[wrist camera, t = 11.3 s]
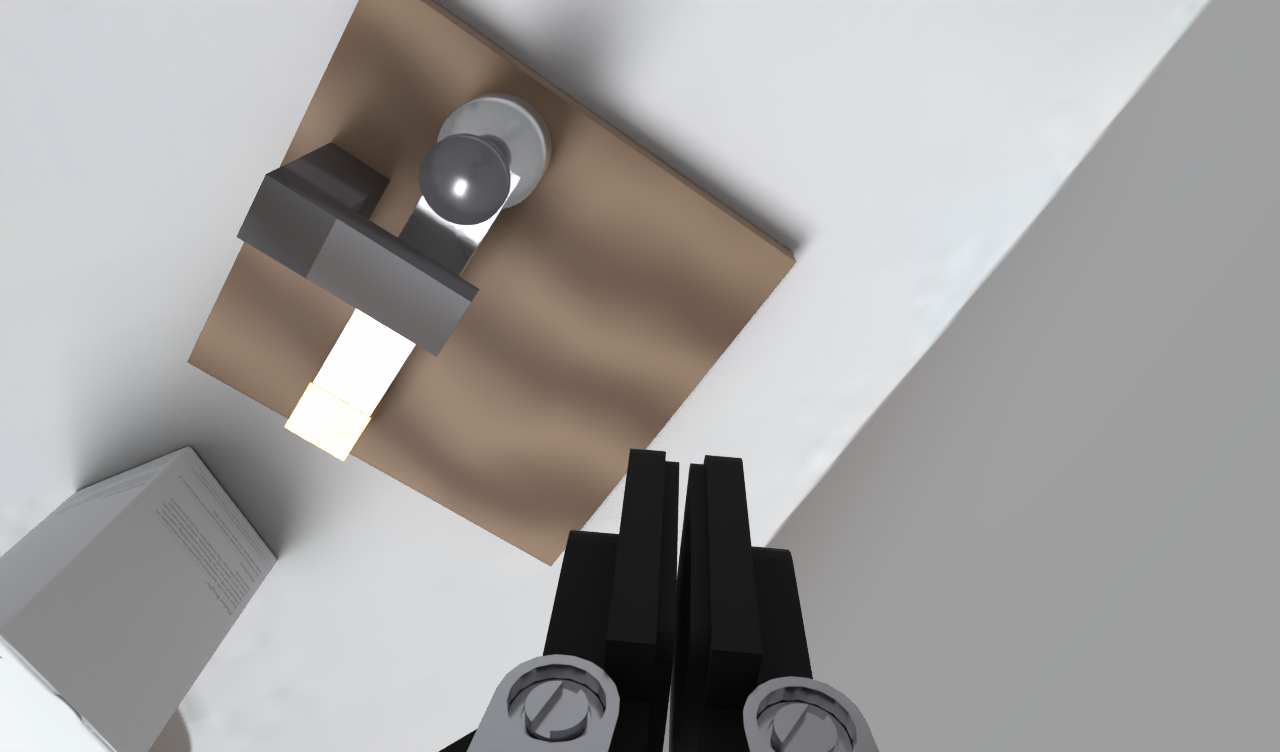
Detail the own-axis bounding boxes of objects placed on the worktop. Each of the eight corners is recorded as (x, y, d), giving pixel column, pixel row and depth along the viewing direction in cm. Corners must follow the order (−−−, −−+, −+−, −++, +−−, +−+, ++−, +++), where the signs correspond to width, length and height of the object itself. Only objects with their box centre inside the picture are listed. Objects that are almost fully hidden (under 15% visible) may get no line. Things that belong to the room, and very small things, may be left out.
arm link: (486, 69, 36) (438, 93, 29) (572, 130, 37) (545, 168, 30) (300, 391, 43) (227, 471, 37) (375, 435, 44) (318, 521, 38)
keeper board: (386, -33, 36) (310, -32, 29) (792, 252, 41) (814, 314, 33) (202, 350, 45) (108, 424, 37) (554, 550, 49) (531, 650, 42)
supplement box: (69, 490, 49) (-165, 688, 36) (192, 441, 47) (-6, 630, 34) (164, 604, 53) (-16, 823, 39) (282, 562, 51) (136, 778, 37)
